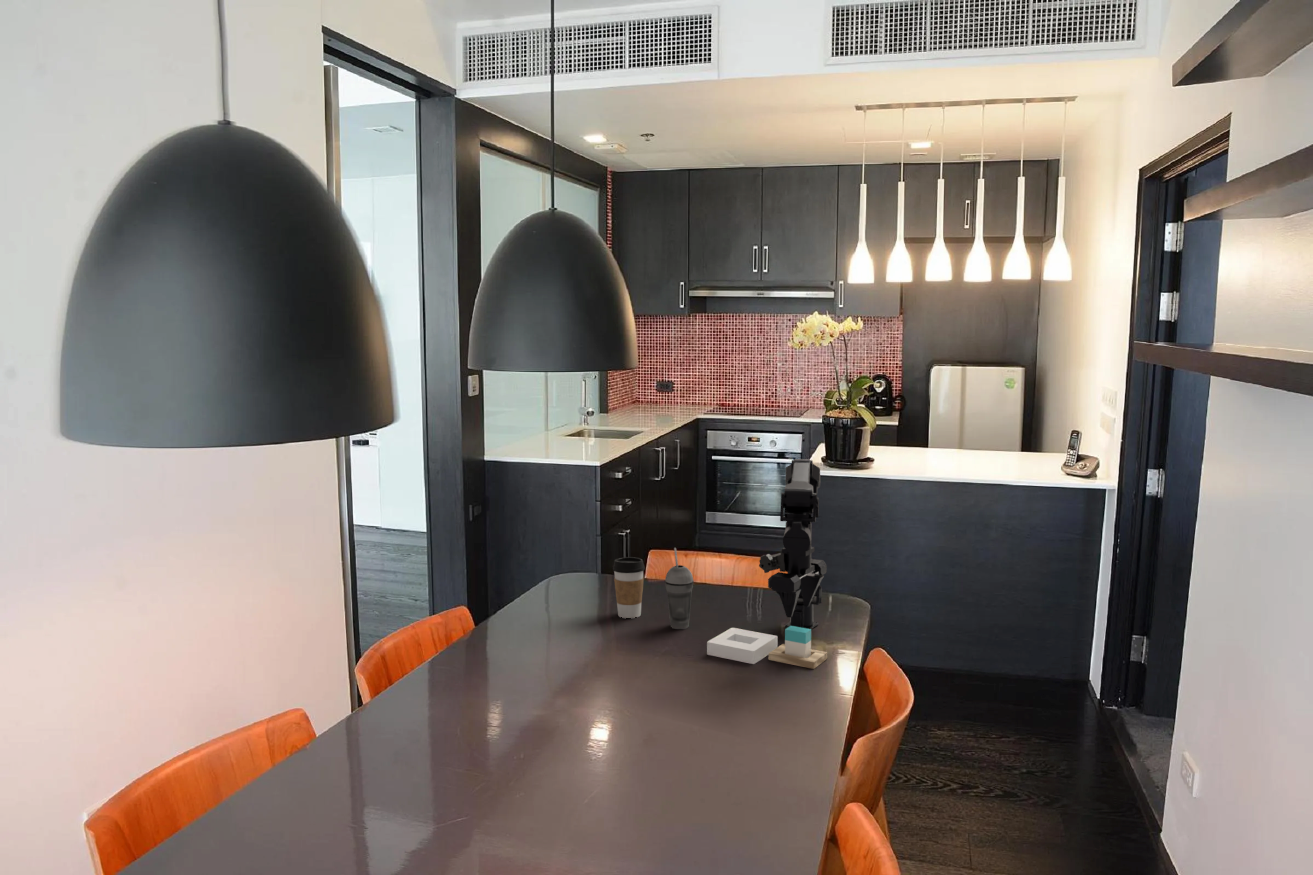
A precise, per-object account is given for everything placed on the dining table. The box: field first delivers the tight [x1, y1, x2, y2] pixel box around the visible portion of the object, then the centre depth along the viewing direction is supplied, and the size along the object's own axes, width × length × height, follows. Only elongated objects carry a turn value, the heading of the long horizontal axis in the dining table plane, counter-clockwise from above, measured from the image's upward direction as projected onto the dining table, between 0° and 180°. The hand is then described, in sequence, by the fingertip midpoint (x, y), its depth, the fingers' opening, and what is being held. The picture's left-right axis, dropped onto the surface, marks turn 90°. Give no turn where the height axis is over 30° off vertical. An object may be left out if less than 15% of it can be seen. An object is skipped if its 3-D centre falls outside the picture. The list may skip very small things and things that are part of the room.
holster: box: [768, 643, 828, 670], centre depth 211 cm, size 7×11×2 cm
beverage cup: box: [664, 547, 695, 630], centre depth 234 cm, size 7×7×20 cm
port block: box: [706, 627, 779, 665], centre depth 217 cm, size 12×12×3 cm
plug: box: [784, 626, 812, 658], centre depth 211 cm, size 3×5×7 cm, turn 57°
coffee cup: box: [612, 556, 646, 619], centre depth 244 cm, size 8×8×15 cm
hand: (797, 611), depth 210 cm, fingers open, 9 cm apart
